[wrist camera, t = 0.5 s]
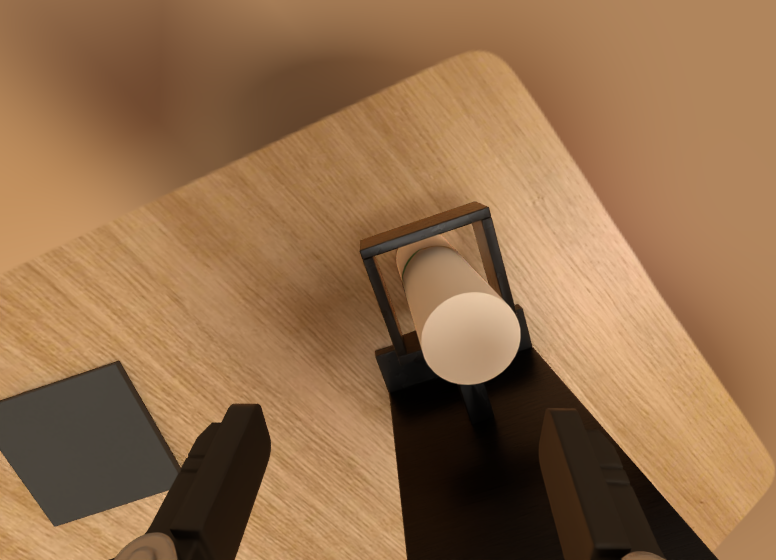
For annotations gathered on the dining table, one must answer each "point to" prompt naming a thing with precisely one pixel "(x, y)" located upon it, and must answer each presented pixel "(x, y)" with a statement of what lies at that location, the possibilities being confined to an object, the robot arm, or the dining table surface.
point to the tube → (456, 313)
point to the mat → (85, 444)
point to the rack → (485, 433)
